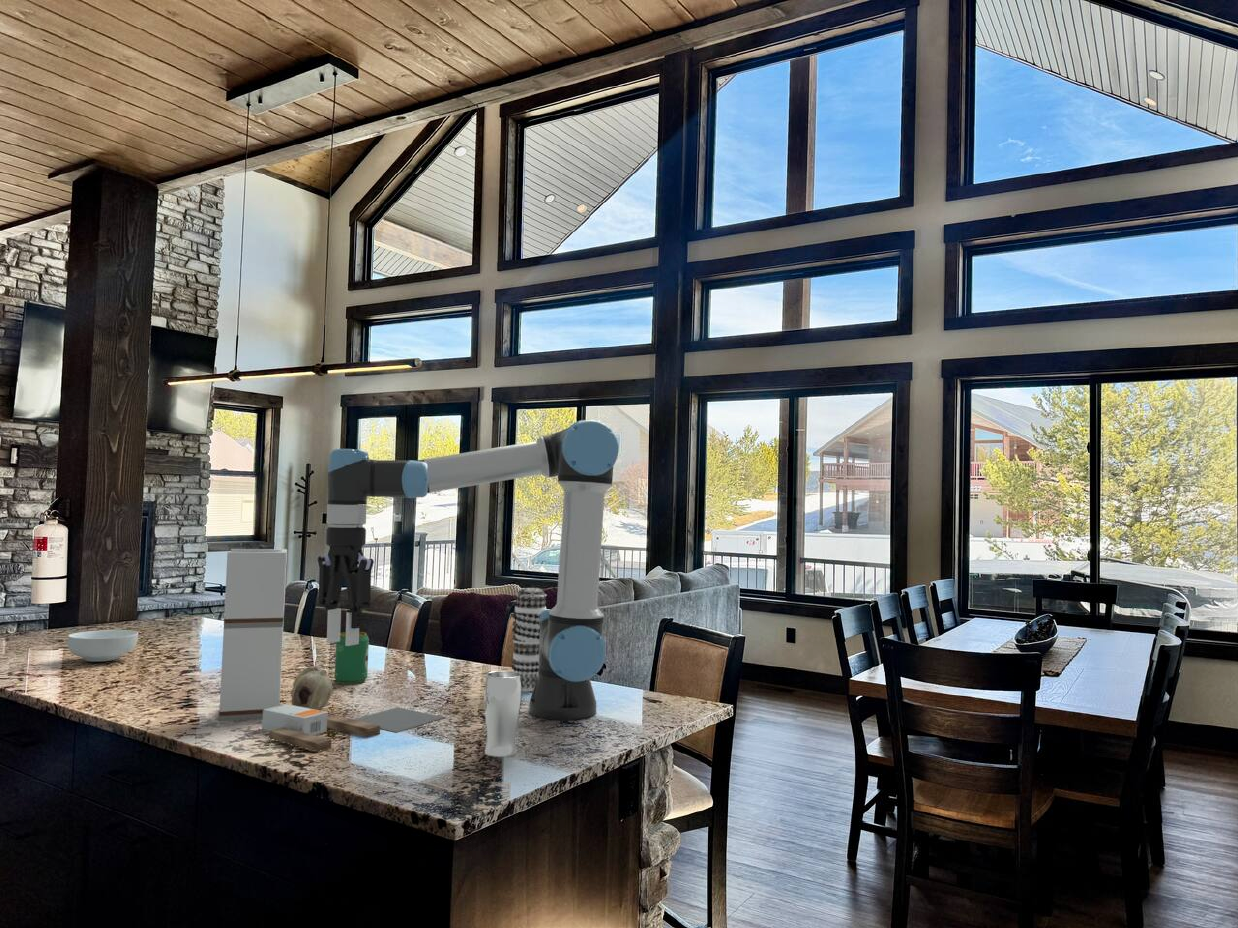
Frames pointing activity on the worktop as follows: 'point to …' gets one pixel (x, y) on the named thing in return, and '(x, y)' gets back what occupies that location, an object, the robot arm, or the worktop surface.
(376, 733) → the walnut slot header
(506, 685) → the beer glass
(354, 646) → the beverage can
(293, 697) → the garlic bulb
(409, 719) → the charcoal mat
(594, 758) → the worktop surface
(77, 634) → the cereal bowl
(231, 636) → the white tall block
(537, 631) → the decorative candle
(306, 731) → the skincare box
